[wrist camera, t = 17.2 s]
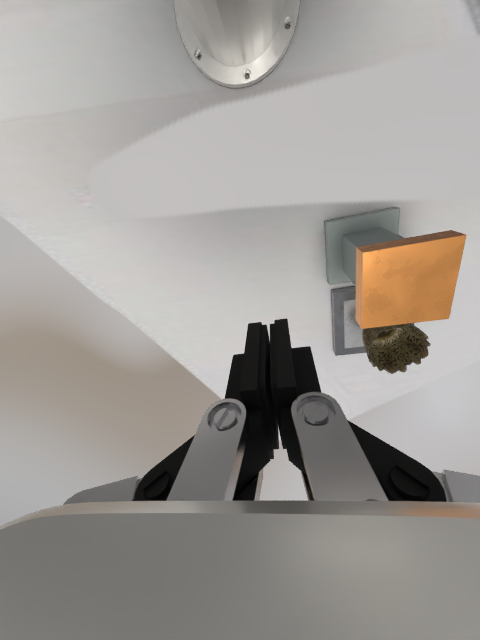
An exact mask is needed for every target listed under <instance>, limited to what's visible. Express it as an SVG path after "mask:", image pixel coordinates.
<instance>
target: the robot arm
mask: <svg viewBox="0 0 480 640" xmlns="http://www.w3.org/2000/svg"><path fill="white" fill-rule="evenodd" d="M299 7H300V0H174V10H175V16H176V22H177V26H178V29H179V33H180V36H181V39H182V41H183V44H184V46H185V48H186V50H187V52H188V54H189V56H190V57H191V59H192V60H193V62H194V63H195V65H196V66H197V67H198V68H199V70H200V71H201V72H202V73H203V74H204V75H206V76H207V77H208V78H209V79H210V80H212V81H214V82H215V83H217V84H219V85H222V86H226V87H229V88H242V87H246V86H250V85H253V84H255V83H257V82H259V81H261V80H262V79H263V78H265V77H266V76H267V75H268V74H269V73H271V72H272V70H273V69H274V68H275V67H276V66H277V65H278V63H279V62H280V61H281V59H282V57H283V56H284V54H285V52H286V51H287V49H288V46H289V44H290V41H291V39H292V37H293V34H294V30H295V27H296V23H297V19H298V13H299ZM287 24H289V25H290V28H289V29H286V28H285V26H286V25H287ZM199 55H202V58H201V59H200V60H198V56H199ZM246 74H249V75H250V77H249V79H246V78H245V76H246ZM278 427H279V431H280V436H281V441H282V446H283V449H287V453H288V457H289V461H291V462H292V463H293V464H294V465H295V466H296V467H298V469H300V470H301V473H302V478H303V482H304V486H305V490H306V494H307V497H308V501H259V497H260V491H261V485H262V479H263V467H264V466H265V465H266V464H267V463H268V462H269V461H270V459H274V451H273V450H274V449H279V439H278ZM0 640H480V476H477V475H471V474H466V473H460V472H454V471H449V470H443V473H437V472H432V471H430V470H429V469H428V468H426V467H425V466H423V465H422V464H421V463H419V462H418V461H416V460H414V459H413V458H411V457H409V456H407V455H406V454H404V453H402V452H400V451H399V450H397V449H395V448H394V447H392V446H390V445H389V444H387V443H385V442H384V441H382V440H380V439H379V438H377V437H375V436H373V435H371V434H370V433H368V432H367V431H365V430H363V429H361V428H360V427H358V426H357V425H355V424H353V423H351V422H350V421H348V420H347V419H346V417H345V415H344V413H343V411H342V409H341V407H340V405H339V404H338V403H337V401H336V400H335V399H334V398H332V397H331V396H329V395H327V394H324V393H321V389H320V385H319V381H318V377H317V373H316V369H315V364H314V360H313V356H312V352H311V348H310V346H309V347H300V348H291V342H290V335H289V328H288V321H287V319H280V320H275V324H270V341H269V336H268V330H267V326H266V325H262V323H261V322H258V323H250V324H248V330H247V337H246V345H245V352H244V354H237V355H234V356H233V359H232V364H231V369H230V375H229V380H228V385H227V390H226V395H225V399H223V400H220V401H217V402H215V403H214V404H212V405H211V406H210V407H209V408H208V409H207V410H206V412H205V414H204V416H203V418H202V420H201V423H200V425H199V427H198V429H197V432H196V434H195V435H194V436H193V437H192V438H190V439H189V440H188V441H187V442H185V443H184V444H183V445H182V446H180V447H179V448H178V449H176V450H175V451H174V452H173V453H171V454H170V455H169V456H168V457H166V458H165V459H164V460H162V461H161V462H160V463H159V464H157V465H156V466H155V467H154V468H152V469H151V470H150V471H149V472H148V473H147V474H146V475H145V476H144V477H143V478H141V479H139V477H138V476H135V477H132V478H128V479H124V480H120V481H117V482H113V483H110V484H106V485H102V486H98V487H95V488H91V489H87V490H84V491H81V492H79V493H77V494H75V495H73V496H72V497H71V498H69V499H68V500H67V501H66V502H65V503H64V504H63V505H60V506H55V507H51V508H47V509H43V510H40V511H36V512H34V513H30V514H28V515H25V516H23V517H20V518H18V519H16V520H13V521H11V522H9V523H6V524H4V525H2V526H0Z"/></svg>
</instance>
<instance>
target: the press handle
mask: <svg viewBox="0 0 480 640" xmlns="http://www.w3.org/2000/svg"><path fill="white" fill-rule="evenodd" d="M465 239H466V235H465V234H462V233H459V232H456V231H452V230H450V231H444V232H438V233H433V234H427V235H421V236H416V237H410V238H405V239H399V240H393V241H388V242H382V243H376V244H371V245H365V246H360V247H356V321H357V323H358V324H359V326H360V328H361V329H366V328H374V327H382V326H391V325H399V324H407V323H416V322H424V321H432V320H441V319H449V316H450V311H451V306H452V301H453V296H454V292H455V287H456V282H457V277H458V273H459V268H460V263H461V258H462V254H463V249H464V244H465Z"/></svg>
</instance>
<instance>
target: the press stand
mask: <svg viewBox="0 0 480 640" xmlns="http://www.w3.org/2000/svg"><path fill="white" fill-rule="evenodd" d="M399 214H400V208H397V207H392V208H387V209H382V210H377V211H372V212H367V213H362V214H357V215H352V216H347V217H342V218H337V219H332V220H327V221H324V225H325V245H326V266H327V282H328V284H329V285H333V284H339V283H346V282H353V284H354V285H355V286H356V247H360V246H365V245H371V244H376V243H382V242H388V241H393V240H399V239H405V238H403V237H401V236H399V235H398V225H399Z"/></svg>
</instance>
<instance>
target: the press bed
mask: <svg viewBox="0 0 480 640" xmlns="http://www.w3.org/2000/svg"><path fill="white" fill-rule="evenodd" d="M331 301H332V325H333V348H334V353H335V356H337V355H347V354H356V353H366V350H365V347H364V343H363V339H362V332H363V329H361V328H360V326H359V324H358V323H357V321H356V286H352V287H346V288H339V289H332V290H331ZM412 324H413V325H414V323H412Z"/></svg>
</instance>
